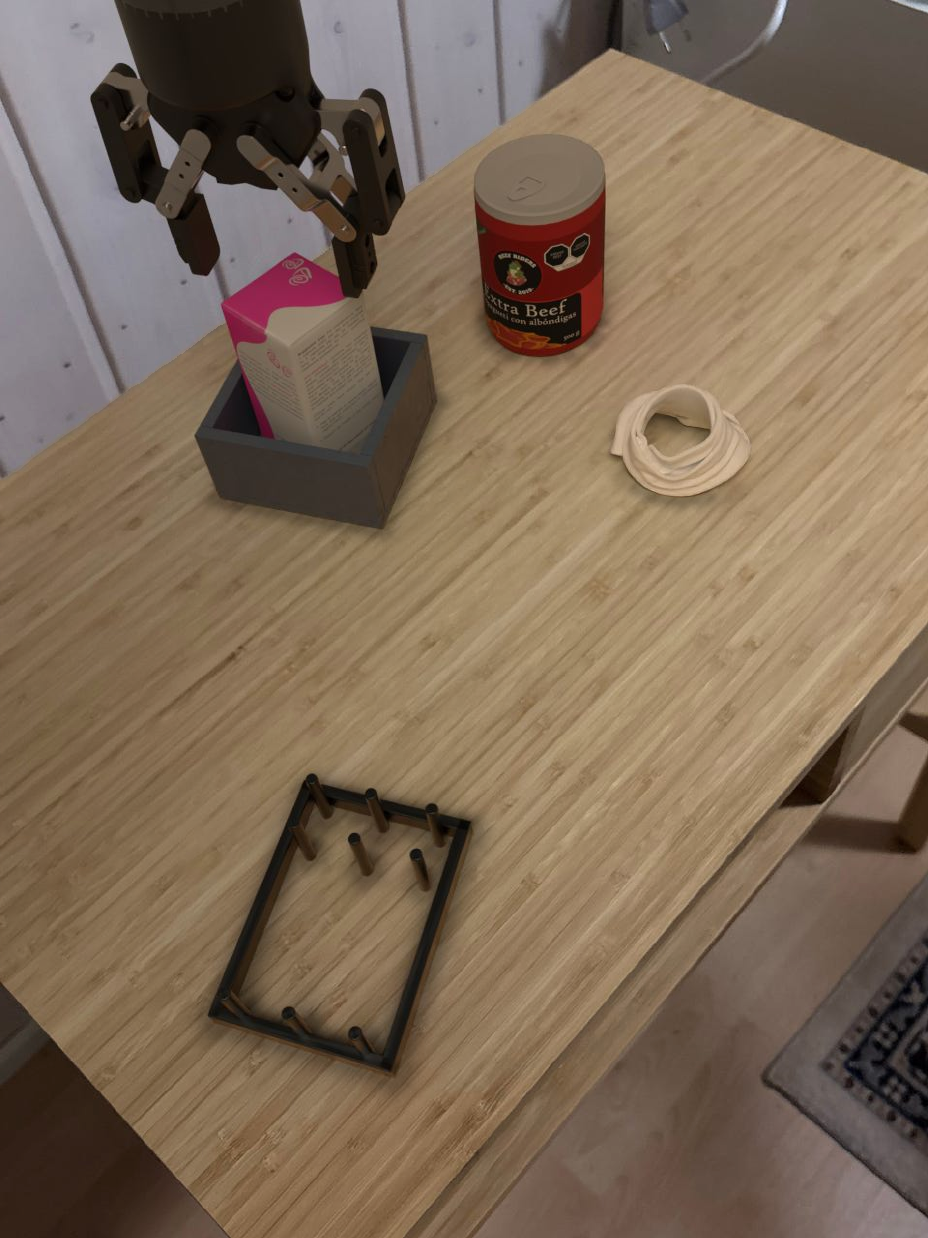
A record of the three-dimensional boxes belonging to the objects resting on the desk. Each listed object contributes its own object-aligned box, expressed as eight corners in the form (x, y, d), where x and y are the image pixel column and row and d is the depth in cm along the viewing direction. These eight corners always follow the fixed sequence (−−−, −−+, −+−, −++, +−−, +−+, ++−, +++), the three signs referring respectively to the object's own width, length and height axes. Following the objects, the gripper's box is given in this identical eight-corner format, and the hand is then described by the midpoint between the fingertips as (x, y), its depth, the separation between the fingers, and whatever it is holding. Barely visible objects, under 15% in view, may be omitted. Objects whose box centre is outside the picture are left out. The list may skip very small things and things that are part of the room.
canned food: (466, 343, 75) (450, 200, 66) (516, 267, 79) (507, 121, 70) (575, 372, 73) (573, 228, 64) (620, 292, 77) (625, 145, 68)
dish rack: (394, 1079, 50) (381, 1057, 47) (213, 1022, 52) (188, 998, 49) (473, 830, 56) (466, 796, 53) (308, 789, 58) (291, 753, 55)
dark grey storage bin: (382, 529, 67) (367, 466, 63) (219, 498, 70) (193, 435, 65) (437, 400, 73) (427, 333, 68) (284, 376, 75) (264, 309, 70)
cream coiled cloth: (753, 439, 70) (771, 377, 66) (733, 516, 66) (751, 455, 62) (624, 410, 71) (635, 347, 67) (598, 484, 67) (607, 422, 63)
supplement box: (395, 436, 70) (366, 288, 61) (326, 495, 68) (285, 351, 59) (331, 394, 73) (293, 246, 63) (262, 449, 71) (213, 304, 61)
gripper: (0, -9, 46) (129, 305, 60) (326, 19, 43) (386, 345, 56) (86, -99, 50) (189, 215, 64) (391, -80, 47) (432, 247, 60)
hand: (281, 276), depth 60 cm, fingers open, 8 cm apart
